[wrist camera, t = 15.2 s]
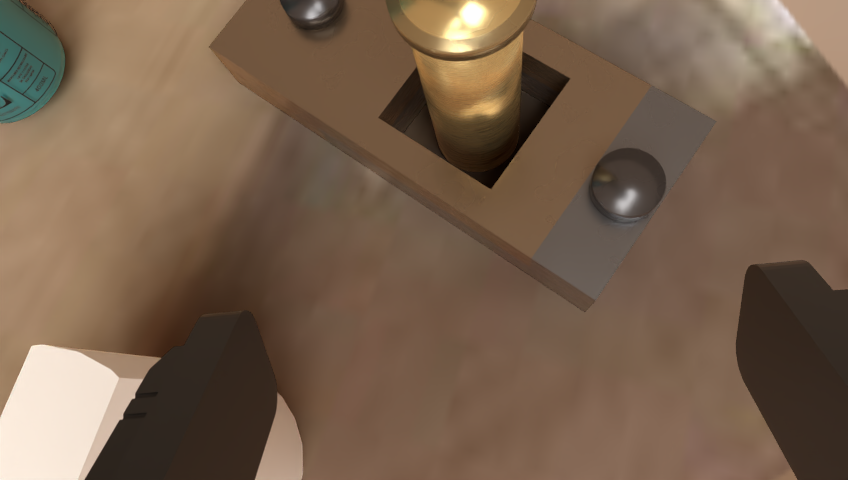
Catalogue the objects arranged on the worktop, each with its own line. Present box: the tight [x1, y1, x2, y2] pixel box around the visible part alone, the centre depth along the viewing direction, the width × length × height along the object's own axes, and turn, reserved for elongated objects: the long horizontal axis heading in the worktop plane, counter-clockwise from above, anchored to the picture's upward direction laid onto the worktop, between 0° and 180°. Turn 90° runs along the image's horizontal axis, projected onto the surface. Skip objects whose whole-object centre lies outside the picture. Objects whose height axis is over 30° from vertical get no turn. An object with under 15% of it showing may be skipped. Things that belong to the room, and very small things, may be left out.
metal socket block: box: [209, 0, 716, 312], centre depth 30 cm, size 21×9×5 cm, turn 54°
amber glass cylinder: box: [385, 0, 537, 172], centre depth 26 cm, size 5×5×12 cm
